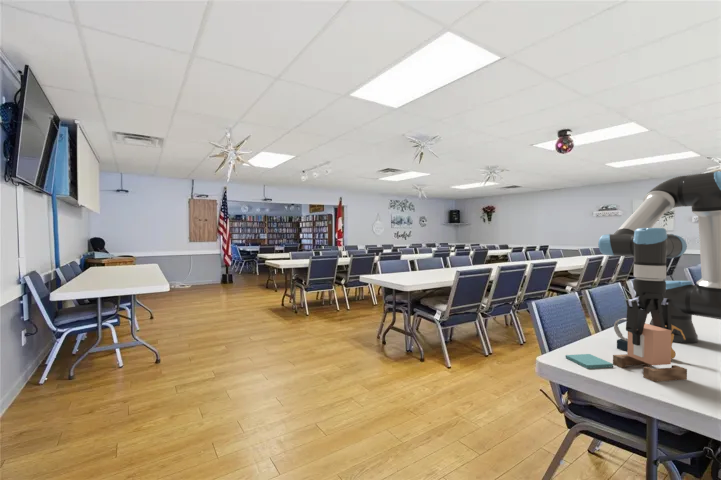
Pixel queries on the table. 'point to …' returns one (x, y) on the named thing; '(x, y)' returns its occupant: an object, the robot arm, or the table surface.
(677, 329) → the figurine
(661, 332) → the terracotta block
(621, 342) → the watch
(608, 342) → the table surface
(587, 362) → the teal pad
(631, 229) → the robot arm
